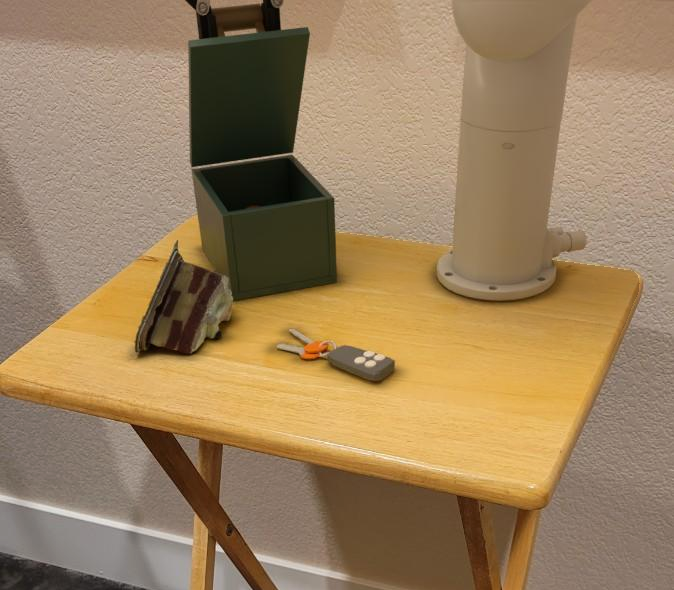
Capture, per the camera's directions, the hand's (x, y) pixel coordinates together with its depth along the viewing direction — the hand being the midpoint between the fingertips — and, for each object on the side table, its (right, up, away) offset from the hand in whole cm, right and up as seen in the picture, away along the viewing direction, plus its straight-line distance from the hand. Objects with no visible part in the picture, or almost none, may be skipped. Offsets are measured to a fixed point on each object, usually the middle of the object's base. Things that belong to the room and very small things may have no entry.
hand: (241, 54), depth 86 cm
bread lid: (0, -3, +3) cm, 4 cm away
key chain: (+9, -31, -3) cm, 32 cm away
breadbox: (+2, -16, +12) cm, 20 cm away
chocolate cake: (-5, -27, +1) cm, 28 cm away
